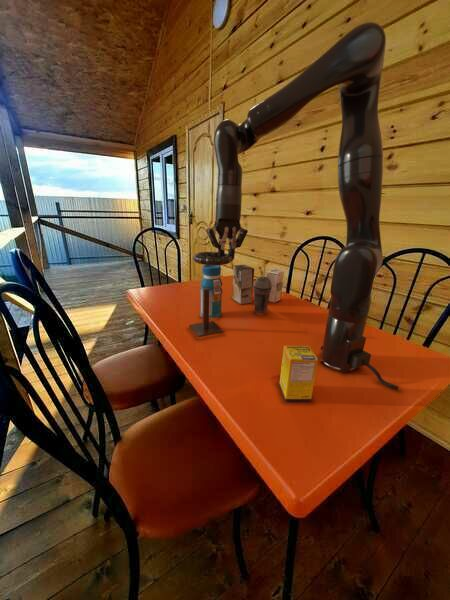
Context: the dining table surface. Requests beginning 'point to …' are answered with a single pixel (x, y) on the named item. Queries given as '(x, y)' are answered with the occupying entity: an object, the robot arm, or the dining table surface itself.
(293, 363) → the supplement box
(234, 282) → the coffee box
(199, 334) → the stand
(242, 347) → the dining table surface
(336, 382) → the dining table surface
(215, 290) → the beverage bottle
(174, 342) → the dining table surface
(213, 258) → the ring
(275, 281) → the syrup box
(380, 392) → the dining table surface
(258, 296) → the beverage cup
